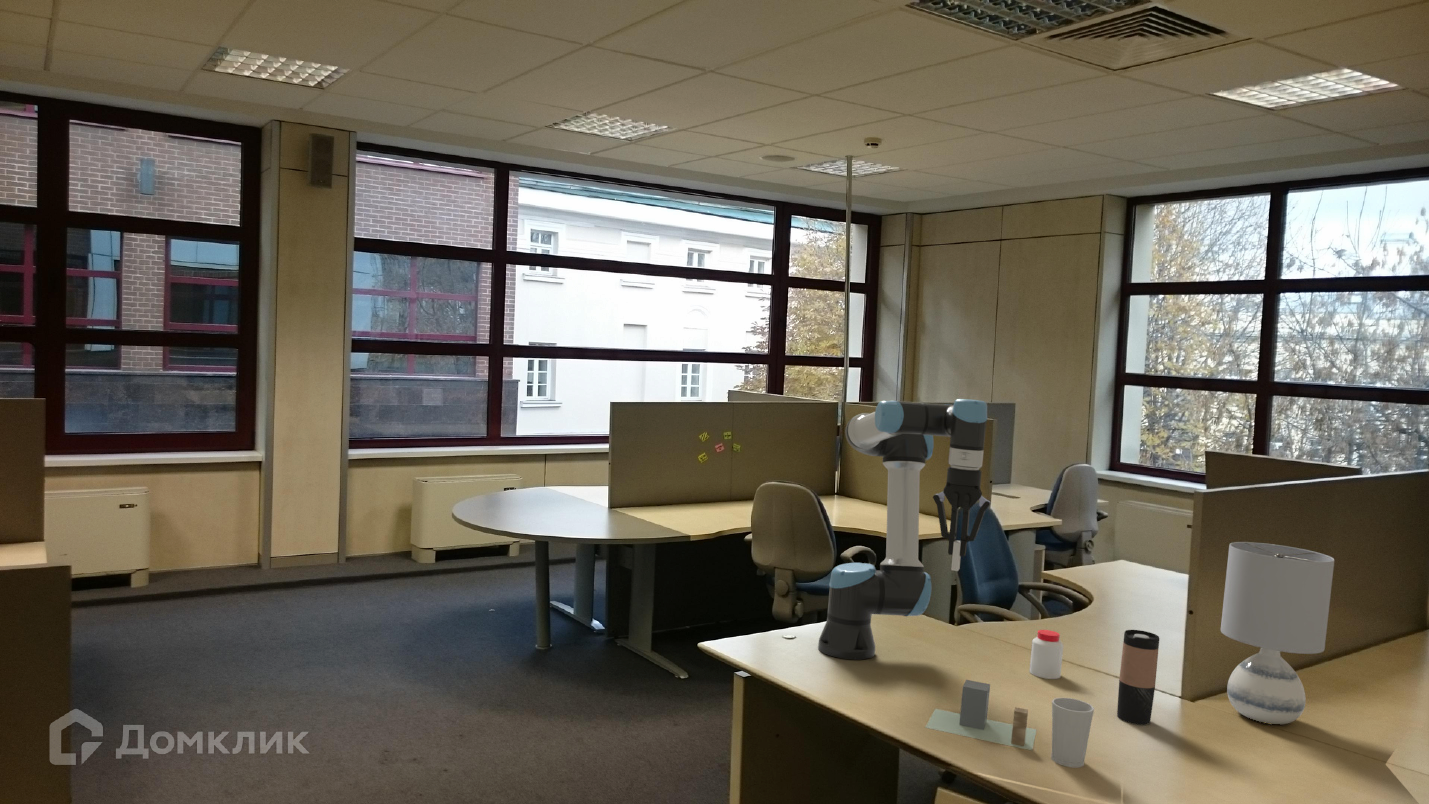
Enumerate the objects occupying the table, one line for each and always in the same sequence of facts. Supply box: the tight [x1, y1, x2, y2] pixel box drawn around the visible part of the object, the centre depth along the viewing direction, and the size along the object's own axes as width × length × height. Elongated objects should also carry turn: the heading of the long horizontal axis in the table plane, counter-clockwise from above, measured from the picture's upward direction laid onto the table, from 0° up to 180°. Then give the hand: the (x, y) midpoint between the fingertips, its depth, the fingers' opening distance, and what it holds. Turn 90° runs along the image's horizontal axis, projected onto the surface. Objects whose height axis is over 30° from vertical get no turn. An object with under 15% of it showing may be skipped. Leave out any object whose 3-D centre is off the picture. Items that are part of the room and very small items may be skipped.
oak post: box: [1011, 706, 1029, 746], centre depth 205 cm, size 3×3×7 cm
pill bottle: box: [1028, 629, 1064, 680], centre depth 256 cm, size 8×8×11 cm
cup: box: [1050, 697, 1095, 768], centre depth 198 cm, size 8×8×12 cm
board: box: [924, 708, 1037, 751], centre depth 212 cm, size 22×13×1 cm, turn 68°
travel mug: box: [1116, 629, 1160, 726], centre depth 226 cm, size 8×8×20 cm
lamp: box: [1220, 541, 1335, 725], centre depth 233 cm, size 22×22×40 cm
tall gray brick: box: [959, 679, 991, 730], centre depth 215 cm, size 5×5×9 cm
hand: (955, 569), depth 224 cm, fingers closed
